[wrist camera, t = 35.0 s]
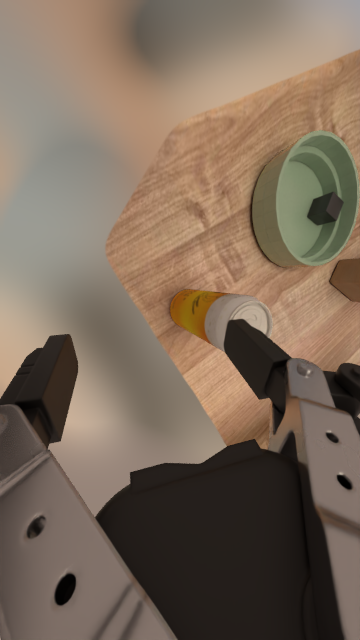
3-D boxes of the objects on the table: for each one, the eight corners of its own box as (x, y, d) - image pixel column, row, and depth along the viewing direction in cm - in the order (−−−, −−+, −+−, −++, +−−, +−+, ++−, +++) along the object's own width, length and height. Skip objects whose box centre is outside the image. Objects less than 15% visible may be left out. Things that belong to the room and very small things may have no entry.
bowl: (230, 223, 32) (254, 213, 27) (287, 124, 32) (321, 96, 27) (294, 286, 40) (322, 287, 35) (339, 206, 40) (373, 195, 35)
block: (306, 216, 37) (325, 211, 34) (313, 198, 37) (333, 191, 33) (317, 226, 38) (336, 221, 35) (323, 208, 38) (344, 202, 35)
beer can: (204, 290, 32) (280, 297, 19) (201, 326, 33) (270, 358, 20) (169, 288, 30) (227, 294, 16) (167, 326, 31) (219, 362, 17)
